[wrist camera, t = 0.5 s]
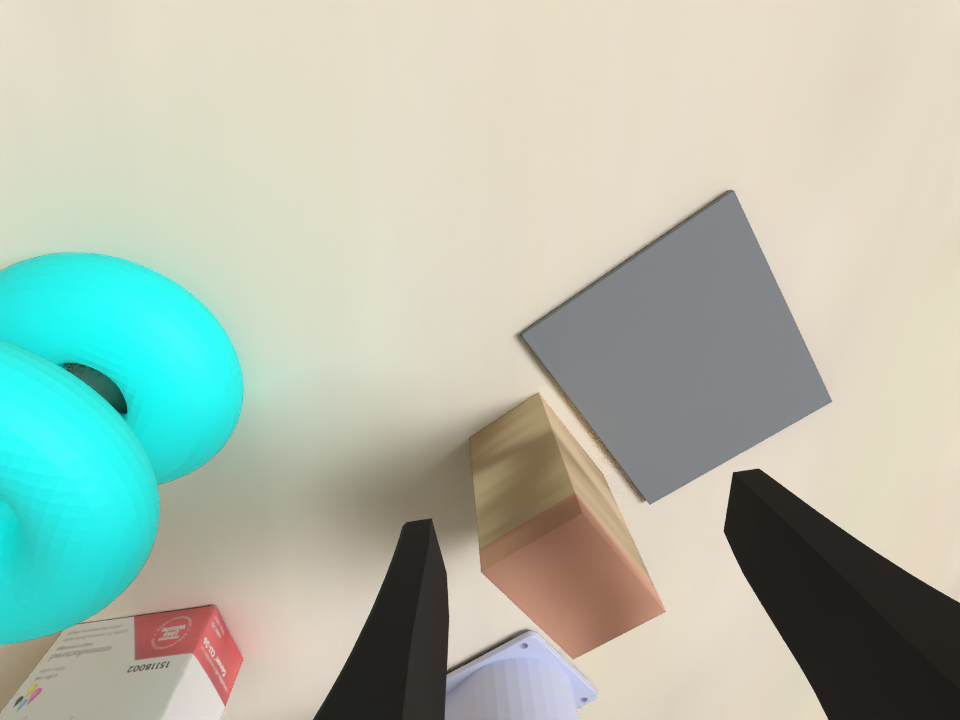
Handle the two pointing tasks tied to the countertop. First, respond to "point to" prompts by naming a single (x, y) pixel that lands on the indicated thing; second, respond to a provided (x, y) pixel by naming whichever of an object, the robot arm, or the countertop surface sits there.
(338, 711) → the robot arm
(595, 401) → the rubber mat
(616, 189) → the countertop surface
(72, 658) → the ink cartridge box
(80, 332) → the donuts
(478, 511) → the oak block
